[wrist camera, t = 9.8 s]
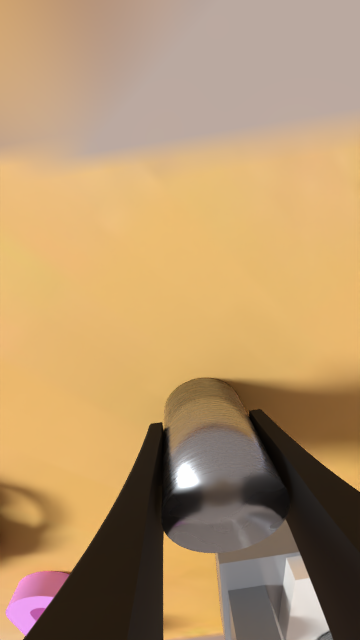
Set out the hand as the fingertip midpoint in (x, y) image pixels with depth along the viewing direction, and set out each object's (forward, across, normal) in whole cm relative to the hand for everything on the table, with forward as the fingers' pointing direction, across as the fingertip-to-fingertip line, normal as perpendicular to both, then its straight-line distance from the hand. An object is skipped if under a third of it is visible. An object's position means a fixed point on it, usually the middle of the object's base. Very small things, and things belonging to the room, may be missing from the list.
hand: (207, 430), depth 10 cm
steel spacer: (+1, 0, 0) cm, 1 cm away
